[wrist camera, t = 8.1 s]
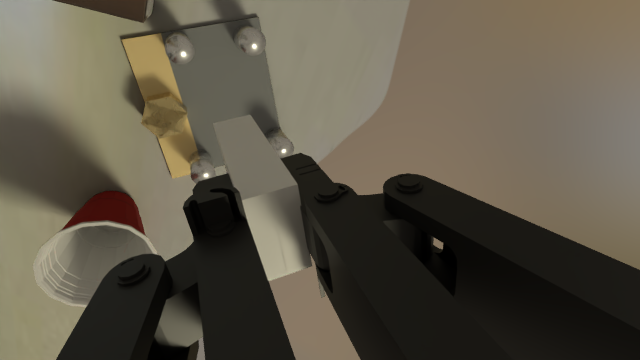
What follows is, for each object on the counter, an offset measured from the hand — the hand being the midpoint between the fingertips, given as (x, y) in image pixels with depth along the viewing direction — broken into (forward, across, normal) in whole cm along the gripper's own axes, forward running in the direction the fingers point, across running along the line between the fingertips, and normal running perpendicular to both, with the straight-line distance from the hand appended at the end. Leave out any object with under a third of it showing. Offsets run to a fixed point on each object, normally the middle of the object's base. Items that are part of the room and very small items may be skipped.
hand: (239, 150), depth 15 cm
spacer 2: (+33, -3, -13) cm, 35 cm away
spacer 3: (+33, +6, +1) cm, 33 cm away
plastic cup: (+33, -15, -17) cm, 40 cm away
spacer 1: (+33, -2, +1) cm, 33 cm away
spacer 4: (+33, +7, -12) cm, 35 cm away
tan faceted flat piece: (+32, -5, -6) cm, 33 cm away
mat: (+32, +1, -6) cm, 33 cm away
